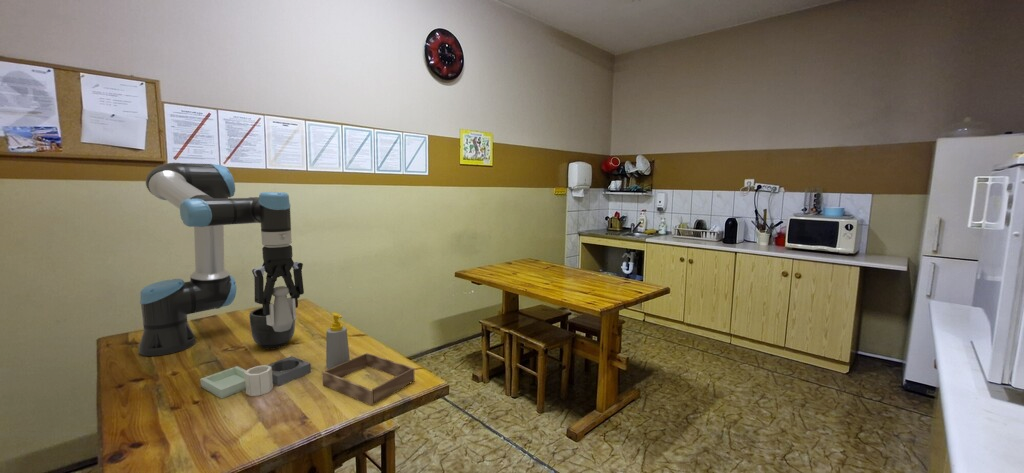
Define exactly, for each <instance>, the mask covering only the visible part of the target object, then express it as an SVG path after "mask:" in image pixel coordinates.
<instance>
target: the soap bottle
mask: <svg viewBox="0 0 1024 473" xmlns="http://www.w3.org/2000/svg"><path fill="white" fill-rule="evenodd" d="M331 315H332V316H333V322H332V323H331V324H332V325H331V326H330V328H327V329H326V333H325V334H326V340H325V341H326V344H325V345H326V346H325V347H326V348H325V349H326V355H325V356H326V358H325V359H326V363H325V364H326V365H325V366H326V367H325V368H326V370H328V369H330V368H333V367H335V366H337V365H340V364H342V363H344V362H347V361H349V360H351V359H350V348H349V338H348V329H347V327H346V326H343V325H342V324H341V321H339V318H340V319H342V318H343V317H342V315H341V314H340V313H338V312H332V313H331Z"/></svg>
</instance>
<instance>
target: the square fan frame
mask: <svg viewBox="0 0 1024 473" xmlns="http://www.w3.org/2000/svg"><path fill="white" fill-rule="evenodd" d="M267 365H268V366H270V367H272V379H273V386H274V385H275V386H277V387H279V386H282V385H285V384H287V383H289V382H291V381H294V380H297V379H300V378H301V377H304V376H307V375H308V374H311V373H312V370H311V369H312V368H311V366H312V365H311V362H308V361H306V360H304V359H301V358H297V357H296V356H293V355H291V356H288V357H285V358H283V359H280V360H277V361H274V362H272V363H269V364H267Z"/></svg>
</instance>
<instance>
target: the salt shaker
mask: <svg viewBox="0 0 1024 473" xmlns="http://www.w3.org/2000/svg"><path fill="white" fill-rule="evenodd" d="M288 295H289V290H288V288H287V287H286V285H284V286H281V285H280V286H274V289H273V293H272V297H274V301H273V305H274V306H273V309H274V326H272V327H273V329H274V331H276V332H283V331H287V330H289V329H290V328H291V326H292V323H293V318H292V314H291V310H290V306H289V302H288V298H289V297H288Z"/></svg>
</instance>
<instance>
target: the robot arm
mask: <svg viewBox="0 0 1024 473" xmlns="http://www.w3.org/2000/svg"><path fill="white" fill-rule="evenodd" d="M145 187H146V189H147V190H148V192H150V194H152V196H154V197H156V198H158V199H159V200H163V201H167V202H169V203H170V204H172V205H173V206H174V207H176V208H177V209H179V216H180V219H181V221H182V224H183V225H185V226H186V227H189V228H190V227H193V238H194V242H193V243H194V268H195V270H194V271H193V272H192V273H191V274H190V276H189V278H190V280H189V281H184V279H181V278H173V279H166V280H165V279H164V280H161V281H157V282H154V283H151V284H148V285H146V286H144V287H142V289H141V290H140V292H139V293H140V294H139V295H140V298H139V299H140V300H139V304H140V306H141V315H142V316H141V317H142V326H143V332H142V335H141V338H140V341H139V345H138V352H139V355H140V356H145V357H154V356H155V357H157V356H164V355H170V354H174V353H179V352H181V351H184V350H186V349H188V348H192V347H193V346H194V345H195V344H196V343H197V342H196V335H195V334H194V332H193V330H192V328H191V327H190V325H189V322H188V315H191V314H197V313H201V312H205V311H210V310H218V309H221V308H223V307H227V306H230V305H231V304H232V303H233V302H234V301H235V298H236V295H237V284H236V278H234V277H233V276H232V275H230V272H229V271H228V270H226V269H225V239H224V236H225V235H224V234H225V233H224V231H225V230H224V226H227V225H228V226H230V225H243V224H260V231H261V232H260V234H261V245H262V246H263V247H262V250H261V251H262V260H263V263H262V265H261V266H260V267H258V268H253V269H252V270H251V272H252V274H253V278H254V280H253V281H254V302H255V304H259V305H261V306H262V307H263V314H264V315H266V321H267V325H270V326H274V309H273V305H274V303H273V302H272V301H271V300H272V297H273V295H272V293H273V289H274V288H275V285H276V282H277V281H278V278H280V277H282V279H283V281H284V284H285V287H287V288H288V290H289V293H288V295H289V297H287V298H288V302H289V306H290V310H291V314H292V318H293V320H295V321H296V320H297V308H298V307H299V303H298V302H299V300H298V299H300V296H302V295H304V293H305V288H304V283H303V282H304V281H303V280H304V279H303V271H302V269H303V266H304V264H303V263H302V262H298V261H296V262H294V260H293V246H292V245H291V244H292V240H293V239H292V225H291V224H292V222H291V219H292V218H291V202H290V197H289V196H290V195H289V193H287V192H283V191H280V192H279V191H262V192H260V193H259V195H258V197H257V196H254V197H252V196H249V197H236V198H234V196H235V192H236V184H235V180H234V176H233V175H232V173H231V171H230V169H229V168H228V167H226V166H225V165H222V164H212V163H191V162H190V163H188V162H187V163H185V162H168V163H164V164H163V163H162V164H160V165H158V166H156V167H154V168H153V169H150V171H149V173H148V174H147V175H146V177H145ZM291 270H293V272H292V273H293V274H292V273H291ZM265 273H266V278H264V275H265ZM292 277H293V278H292ZM264 279H265V280H266V281H265V282H264ZM264 283H265V286H264ZM271 302H272V303H271Z"/></svg>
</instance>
